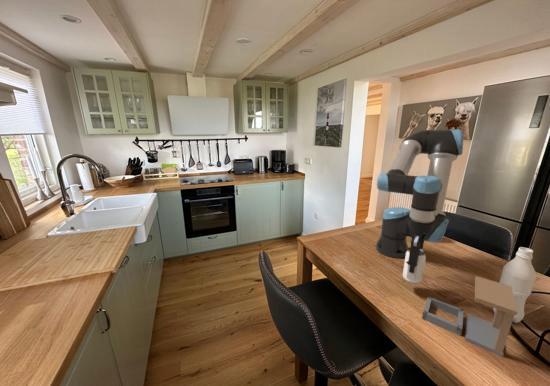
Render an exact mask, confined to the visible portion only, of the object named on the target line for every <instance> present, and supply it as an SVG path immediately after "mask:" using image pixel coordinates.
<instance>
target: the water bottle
mask: <svg viewBox="0 0 550 386" xmlns="http://www.w3.org/2000/svg"><path fill="white" fill-rule="evenodd" d="M533 254H534V250H533V249H531V248H530V247H529V248H528V247H524V246H523V247H522V246H520V247H519V248H518V250H517V251H516V253H515V257H514V258H512V259H511V260H510V261H508V262H507V263H506V264H504V265H503V267H502V272H501V276H500V279H499V282H498V283H502V284H505V285H508V286H511V287H512V291H513V295H514V299H515V304H516V308H517V315H516V316H515V315H514V318H513V321H512V323H516V324H517V323H519V322H521V321H522V320H523V319H524V317H525V305H526V300H527V299H528V298H529V297H530V295H532V290H533V287H534V284H535V282H536V281H537V273H536V270H535V268H534V266H533V264H532V260H533V258H534V257H533ZM492 311H493V313H494V314H495V312H496V309H495V308H493V307H492Z"/></svg>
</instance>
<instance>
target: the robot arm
mask: <svg viewBox="0 0 550 386" xmlns="http://www.w3.org/2000/svg"><path fill="white" fill-rule="evenodd" d="M463 147H464V132H463V130H461V129H452V128H450V129H425V130H424V129H423V130H419V131H416V132H414V133H412V134H410V135H408V136H406V138H405V139H404V140H402V142H401V143H400V145H399V152H398V153H397V154H396V156H395V159H394V161H393V162H392V164H391V166H390V168H389V169H388V172H383V173H379V174H378V177H377V180H376V188H377V189H378V191H383V192H387V193H396V194H403V195H404V194H405V195H411V197H412V198H411V205H410V209H409V208H406V207H401V206H399V207H396V206H394V207H388V208H386V209H385V210H384V211H383V215H382V221H381V232H380V233H381V234H380V236H379V238H378V240H377V242H376V245H375V249H376V251H378V253H379V254H381V255H384V256H385V257H386V256H387V257H391V258H394V259H396V258H397V259H402V258H405V256H406V252H407V251H408V248H410V254H409V260H408V261H407V262H406V263H408V271H407V278H408V279H411V280H414V281H415V277H416V271H417V262H418V257H419V252H420V249H421V250H423V249H424V244H425V242H431V243H435V244H439V243H441V242H442V240H443V238H444V235H445V233H446V230H447V228H448V225H449V222H450V220H449V219H447V215H446V213H445V212H444V205H445V202H446V195H447V191H448V186H449V180H450V175H451V172H452V166H453V162H455V161H456V160H457V159H458V158H459V157H458V156H462V154H463V149H464V148H463ZM420 154H424V155H425V154H426V155H427V158H428V159H429V165H428V171H427V175H420V176H419V175H409V172H410V170H411V168H412V166H413V164H414V161H415V159H416V157H417V156H418V155H420ZM408 237H409V238H411V240H410V247H409V246H408V242H407V238H408ZM423 251H424V250H423Z"/></svg>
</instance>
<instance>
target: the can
mask: <svg viewBox="0 0 550 386" xmlns="http://www.w3.org/2000/svg"><path fill="white" fill-rule="evenodd" d="M410 248H411V247H408V251H407V252H406V256H405V257H404V263H403V269H402V270H403V271H402V277H403V279H404V280H405V281H406V282H409V283H411V284H421V283H423V282H422V281H423V277H424V273H425V272H424V271H425V266H426V260H427V256H426V252H425V251H424V250H421V249H420V252H419V257H418V262H417V271H416V277H415V281H414V280H411V279H408V278H407V271H408V263H406V262H407V261H408V260H409V254H410Z"/></svg>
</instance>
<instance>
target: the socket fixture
mask: <svg viewBox="0 0 550 386" xmlns="http://www.w3.org/2000/svg"><path fill="white" fill-rule="evenodd" d="M474 302H476V303H479V304H481V305H484V306H487V307H490V308H492V309H493V308H495V309H496V312H495V313H494V316H493V319H492V322H491V321H488V320H485V319H482V318H480V317H478V316H474V315H472V314H469V313H466V314H465V326H464V327H465V331H464V332H465V333H464V340H465V341H466V342H469V343H471V344H473V345H475V346H478V347H480V348H483V349H484V350H486V351H488V352H492V353H493V354H495V355H498V356H500V357H503V358H504V354H505V353H504V349H505V346H506V343H507V339H508V336H509V333H510V330H511V327H512V323H513V318H514V315H515V316H516V315H517V308H516V304H515V299H514V295H513V291H512V287H511V286H508V285H505V284H502V283H499V282H498V281H495V280H491V279H488V278H484V277H481V276H478V275H475V277H474ZM431 307H433V308H436V309H437V310H440V311H442V312H446V313H448V314H451V315H453V316H455V317H456V323H455V322H453V321H450V320H447V319H445V318H444V317H441V316H439V315H436V314H434V313H431V312H430V308H431ZM421 317H422V318H421V319H422V320H425V321H426V322H429V323H431V324H433V325H436V326H438V327H440V328H443V329H445V330H447V331H449V332H452V333H454V334H456V335H458V336H462V332H463V323H464V309H462V308H460V307H457V306H455V305H452V304H449V303H446V302H444V301H441V300H439V299H436V298H433V297H431V296H427V299H426V301H425V305H424V307H423V312H422V316H421Z"/></svg>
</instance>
